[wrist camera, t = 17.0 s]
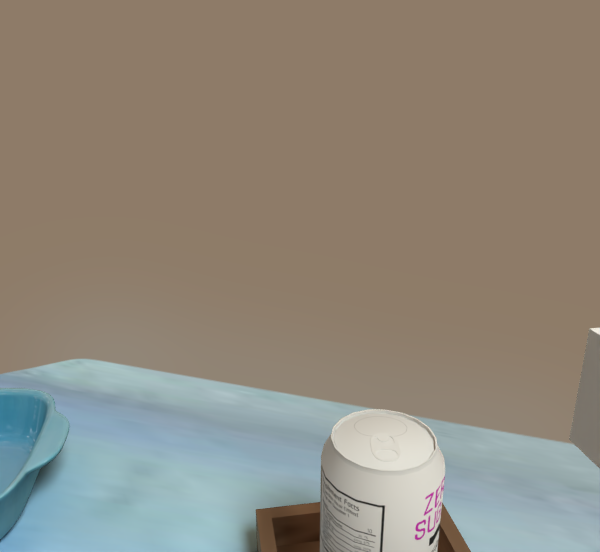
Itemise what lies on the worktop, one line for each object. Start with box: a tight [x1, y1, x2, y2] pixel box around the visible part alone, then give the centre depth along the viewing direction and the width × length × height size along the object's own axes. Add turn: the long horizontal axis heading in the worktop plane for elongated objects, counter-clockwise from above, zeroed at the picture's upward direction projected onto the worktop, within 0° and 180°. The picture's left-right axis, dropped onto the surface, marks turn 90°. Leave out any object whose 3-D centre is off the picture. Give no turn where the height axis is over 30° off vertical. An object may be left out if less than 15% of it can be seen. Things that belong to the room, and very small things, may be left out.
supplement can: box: [320, 410, 445, 552], centre depth 40 cm, size 8×8×15 cm
